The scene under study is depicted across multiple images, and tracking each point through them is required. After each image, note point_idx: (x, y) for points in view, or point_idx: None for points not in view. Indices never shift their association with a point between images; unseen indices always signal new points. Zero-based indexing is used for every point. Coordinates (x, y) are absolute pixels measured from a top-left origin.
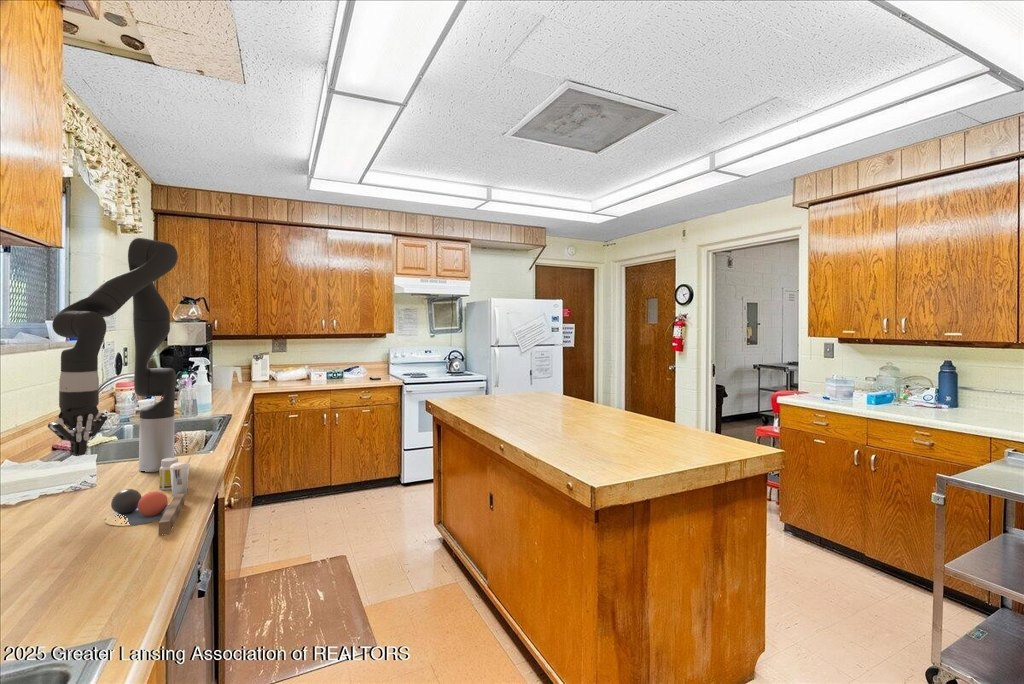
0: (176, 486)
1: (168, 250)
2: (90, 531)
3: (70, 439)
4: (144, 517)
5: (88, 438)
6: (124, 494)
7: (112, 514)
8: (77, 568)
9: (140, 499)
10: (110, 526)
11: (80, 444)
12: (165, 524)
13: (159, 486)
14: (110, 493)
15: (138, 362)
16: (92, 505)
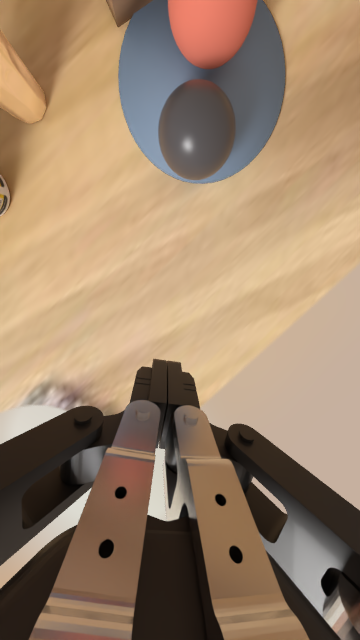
0: (25, 69)
1: None
2: (309, 143)
3: (249, 433)
4: None
5: (129, 404)
6: (225, 104)
7: (209, 177)
8: None
9: (244, 15)
10: (281, 115)
11: (177, 393)
12: None
13: (1, 210)
14: (73, 314)
15: None
16: (152, 287)
